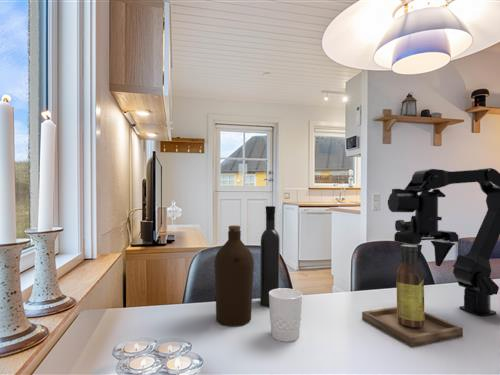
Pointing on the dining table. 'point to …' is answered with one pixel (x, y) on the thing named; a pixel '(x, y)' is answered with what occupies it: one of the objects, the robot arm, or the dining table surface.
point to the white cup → (285, 314)
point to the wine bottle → (269, 258)
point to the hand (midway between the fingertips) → (426, 266)
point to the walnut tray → (412, 337)
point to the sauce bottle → (410, 289)
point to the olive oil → (233, 281)
